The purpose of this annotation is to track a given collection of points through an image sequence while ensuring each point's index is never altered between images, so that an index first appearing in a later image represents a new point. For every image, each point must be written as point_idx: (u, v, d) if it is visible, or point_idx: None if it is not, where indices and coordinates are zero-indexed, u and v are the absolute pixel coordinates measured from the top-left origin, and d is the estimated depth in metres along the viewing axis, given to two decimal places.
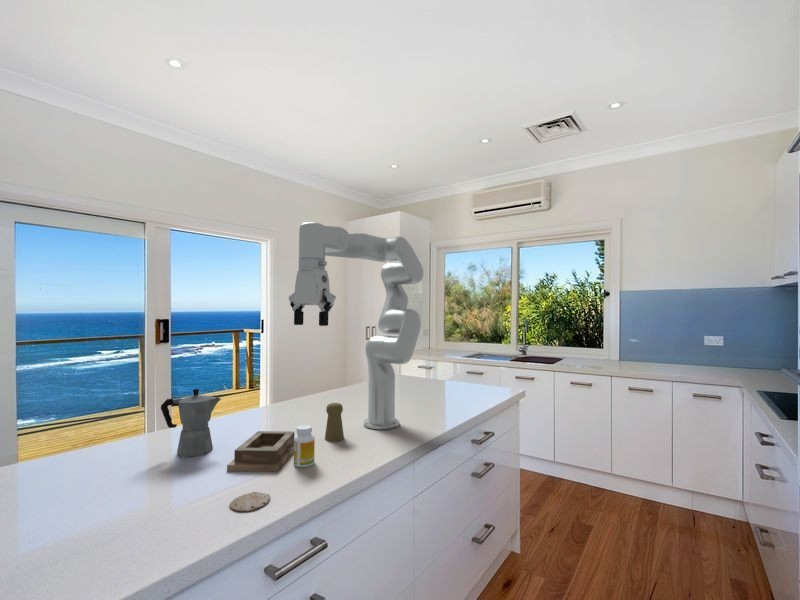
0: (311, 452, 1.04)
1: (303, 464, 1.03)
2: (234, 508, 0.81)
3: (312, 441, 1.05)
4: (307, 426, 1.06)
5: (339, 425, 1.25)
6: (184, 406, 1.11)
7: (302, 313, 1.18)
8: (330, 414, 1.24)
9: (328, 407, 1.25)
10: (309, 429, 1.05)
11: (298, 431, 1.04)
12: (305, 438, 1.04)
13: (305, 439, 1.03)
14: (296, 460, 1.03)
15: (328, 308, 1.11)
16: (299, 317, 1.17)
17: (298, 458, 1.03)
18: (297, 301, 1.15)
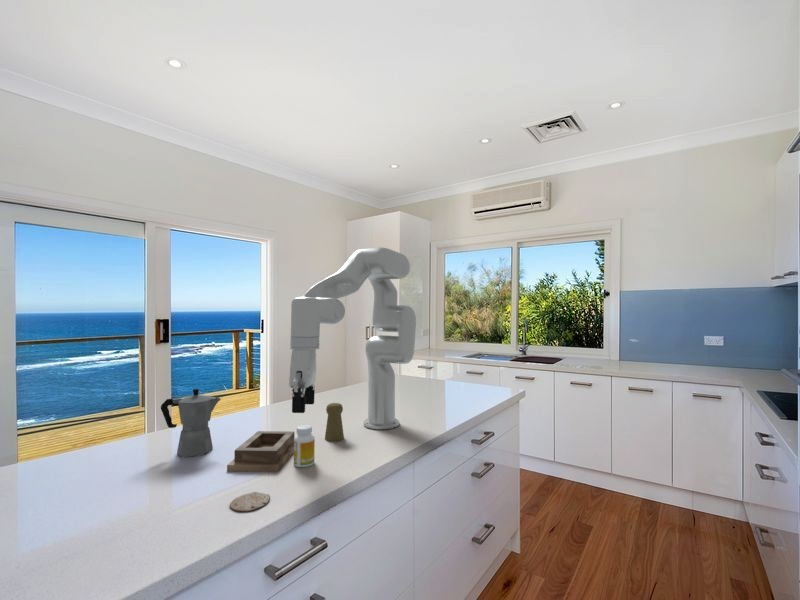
0: (312, 452, 1.04)
1: (303, 464, 1.03)
2: (234, 508, 0.81)
3: (312, 441, 1.05)
4: (307, 426, 1.06)
5: (339, 425, 1.25)
6: (184, 406, 1.11)
7: None
8: (330, 414, 1.24)
9: (328, 407, 1.25)
10: (309, 429, 1.05)
11: (298, 431, 1.04)
12: (305, 438, 1.04)
13: (305, 439, 1.03)
14: (296, 460, 1.03)
15: None
16: None
17: (298, 458, 1.03)
18: (308, 384, 1.02)
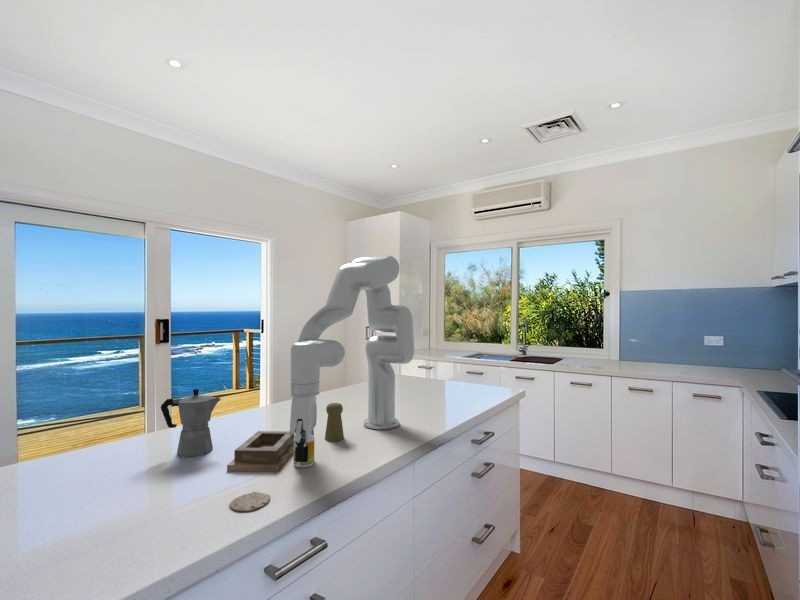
0: (311, 452, 1.04)
1: (303, 465, 1.03)
2: (234, 508, 0.81)
3: (312, 441, 1.04)
4: None
5: (339, 425, 1.25)
6: (184, 406, 1.11)
7: None
8: (330, 414, 1.24)
9: (328, 407, 1.25)
10: None
11: None
12: None
13: None
14: None
15: None
16: None
17: None
18: (309, 431, 1.02)
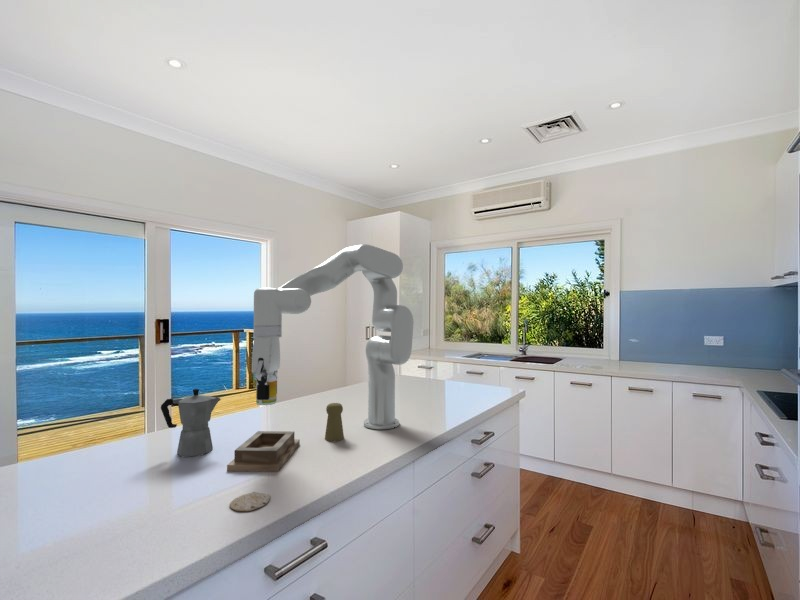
0: (273, 392, 1.10)
1: (264, 403, 1.08)
2: (234, 508, 0.81)
3: (274, 381, 1.10)
4: None
5: (339, 425, 1.25)
6: (184, 406, 1.11)
7: None
8: (330, 414, 1.24)
9: (328, 407, 1.25)
10: None
11: None
12: None
13: None
14: None
15: None
16: None
17: None
18: (270, 370, 1.08)
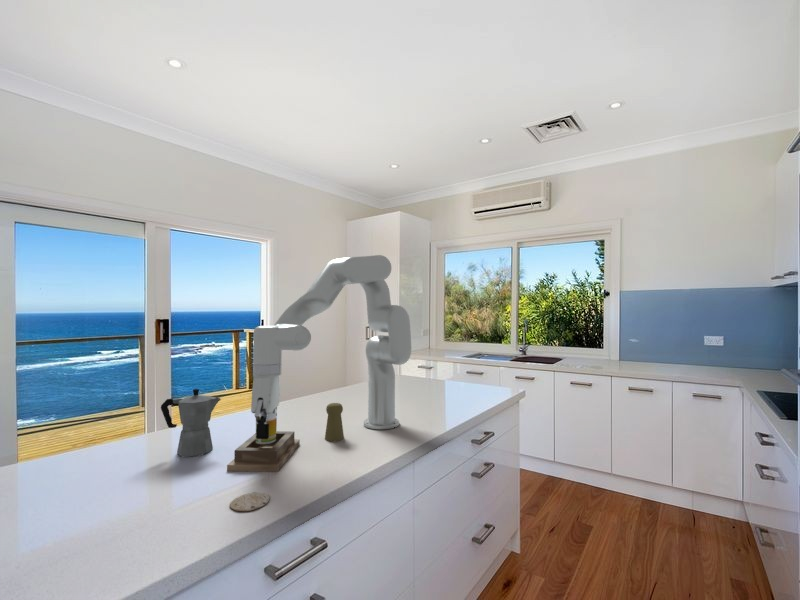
0: (272, 430, 1.09)
1: (264, 442, 1.08)
2: (234, 508, 0.81)
3: (273, 420, 1.10)
4: None
5: (339, 425, 1.25)
6: (184, 406, 1.11)
7: None
8: (330, 414, 1.24)
9: (328, 407, 1.25)
10: None
11: None
12: None
13: None
14: None
15: None
16: None
17: None
18: (270, 410, 1.07)
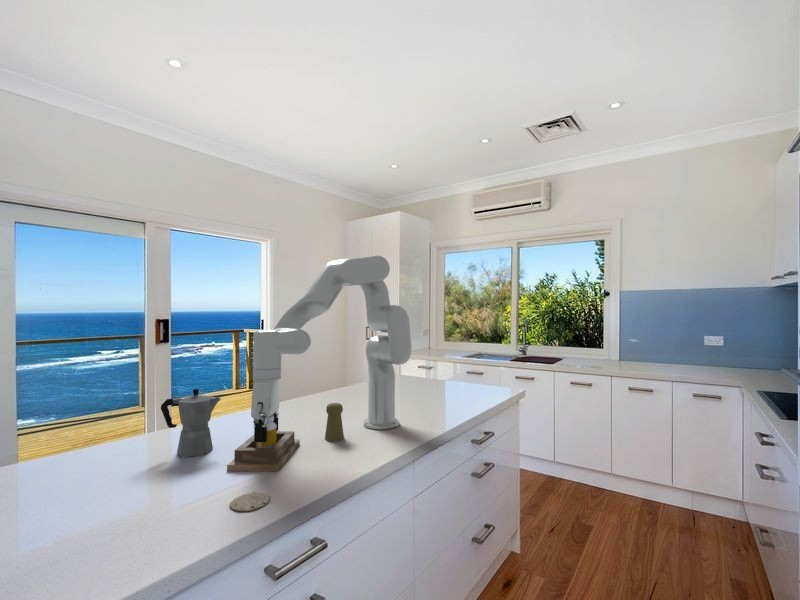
0: (273, 440, 1.09)
1: None
2: (234, 508, 0.81)
3: (273, 429, 1.09)
4: None
5: (339, 425, 1.25)
6: (184, 406, 1.11)
7: None
8: (330, 414, 1.24)
9: (328, 407, 1.25)
10: (270, 418, 1.09)
11: None
12: (266, 426, 1.08)
13: None
14: (258, 447, 1.08)
15: None
16: None
17: (259, 446, 1.08)
18: (269, 414, 1.07)
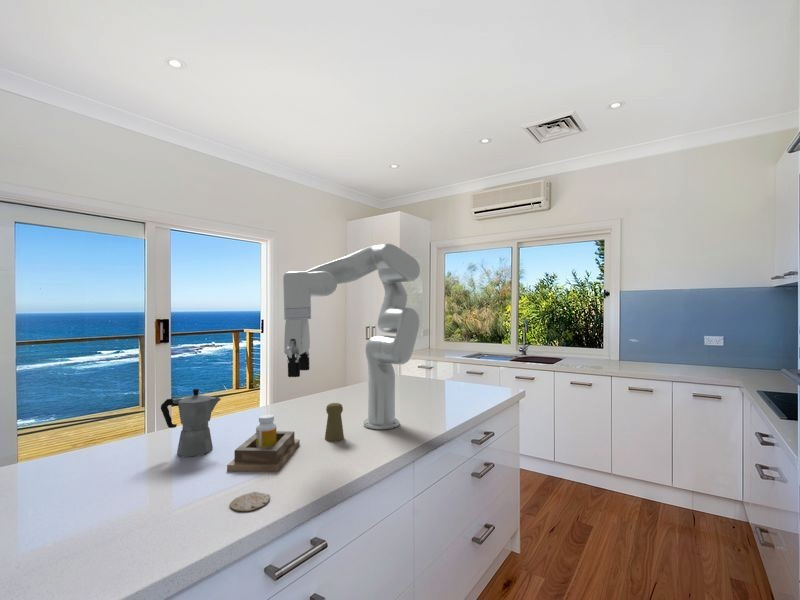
0: (273, 440, 1.09)
1: None
2: (234, 508, 0.81)
3: (273, 429, 1.09)
4: (269, 415, 1.11)
5: (339, 425, 1.25)
6: (184, 406, 1.11)
7: None
8: (330, 414, 1.24)
9: (328, 407, 1.25)
10: (270, 418, 1.09)
11: (260, 420, 1.09)
12: (266, 426, 1.08)
13: (266, 427, 1.08)
14: (258, 447, 1.08)
15: None
16: None
17: (259, 446, 1.08)
18: (302, 351, 1.11)
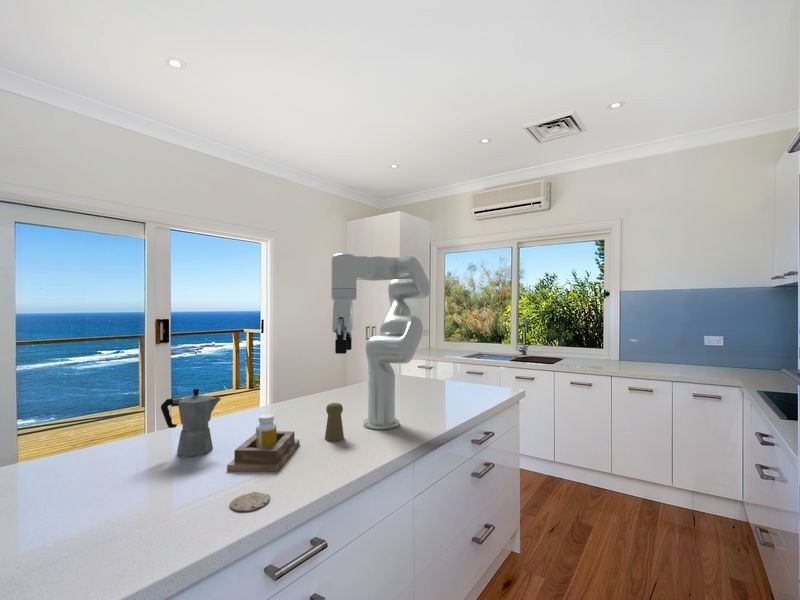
0: (273, 440, 1.09)
1: None
2: (234, 508, 0.81)
3: (273, 429, 1.09)
4: (269, 415, 1.11)
5: (339, 425, 1.25)
6: (184, 406, 1.11)
7: None
8: (330, 414, 1.24)
9: (328, 407, 1.25)
10: (270, 418, 1.09)
11: (260, 420, 1.09)
12: (266, 426, 1.08)
13: (266, 427, 1.08)
14: (258, 447, 1.08)
15: None
16: None
17: (259, 446, 1.08)
18: (348, 329, 1.16)
